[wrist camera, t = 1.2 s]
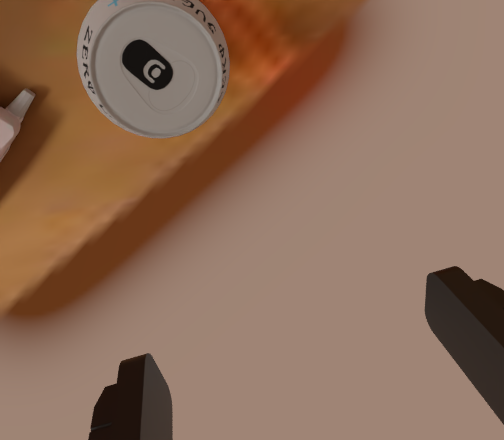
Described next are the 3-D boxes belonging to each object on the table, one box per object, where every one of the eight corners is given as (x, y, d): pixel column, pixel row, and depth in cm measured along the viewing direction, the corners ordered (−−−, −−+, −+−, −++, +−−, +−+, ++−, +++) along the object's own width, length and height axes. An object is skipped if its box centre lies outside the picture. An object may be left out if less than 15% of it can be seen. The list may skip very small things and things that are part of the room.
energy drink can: (158, 94, 29) (171, 179, 16) (84, 33, 26) (33, 82, 13) (211, 29, 27) (269, 70, 15) (140, -43, 24) (141, -68, 12)
